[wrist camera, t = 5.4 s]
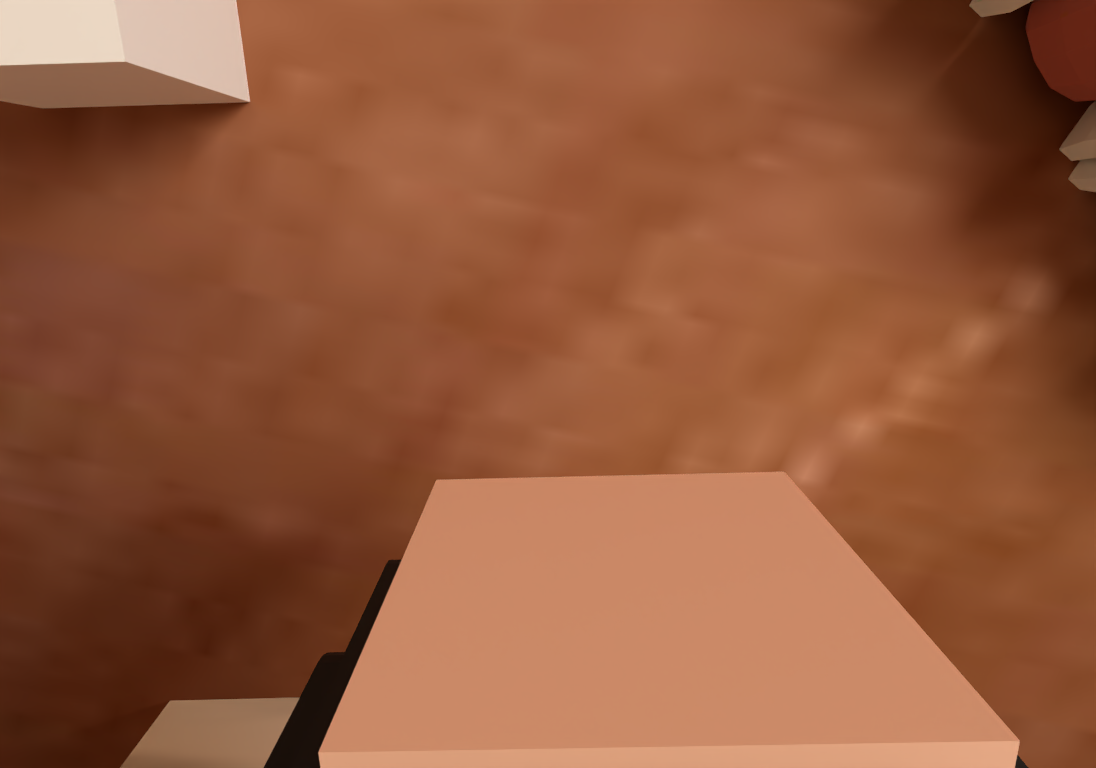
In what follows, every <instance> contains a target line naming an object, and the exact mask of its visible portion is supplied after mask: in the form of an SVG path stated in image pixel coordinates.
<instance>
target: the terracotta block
mask: <svg viewBox="0 0 1096 768" xmlns="http://www.w3.org/2000/svg"><path fill="white" fill-rule="evenodd" d="M1019 742H1020V741H1019V739H1018V738H1017V737H1016V736H1015V735H1014V734H1013V733H1012V731H1011V730H1010V729H1009V728H1008V727H1007V726H1006V725H1005V723H1004V722H1003V721H1002V720H1001V719H1000V718H999V717H998V715H997V714H996V713H995V712H994V711H993V710H992V709H991V707H990V706H989V705H988V704H987V703H986V702H985V701H984V699H983V698H982V697H981V696H980V695H979V694H978V693H977V691H976V690H975V689H974V688H973V687H972V686H971V685H970V683H969V682H968V681H967V680H966V679H965V678H964V677H963V675H962V674H961V673H960V672H959V671H958V670H957V669H956V667H955V666H954V665H953V664H952V663H951V662H950V661H949V659H948V658H947V657H946V656H945V655H944V654H943V653H942V651H941V650H940V649H939V648H938V647H937V646H936V645H935V643H934V642H933V641H932V640H931V639H930V638H929V637H928V635H927V634H926V633H925V632H924V631H923V630H922V629H921V627H920V626H919V625H918V624H917V623H916V622H915V621H914V619H913V618H912V617H911V616H910V615H909V614H908V612H907V611H906V610H905V609H904V608H903V607H902V606H901V604H900V603H899V602H898V601H897V600H896V599H895V598H894V596H893V595H892V594H891V593H890V592H889V591H888V590H887V588H886V587H885V586H884V585H883V584H882V583H881V582H880V580H879V579H878V578H877V577H876V576H875V575H874V574H873V572H872V571H871V570H870V569H869V568H868V567H867V566H866V564H865V563H864V562H863V561H862V560H861V559H860V558H859V556H858V555H857V554H856V553H855V552H854V551H853V550H852V548H851V547H850V546H849V545H848V544H847V543H846V542H845V540H844V539H843V538H842V537H841V536H840V535H839V534H838V532H837V531H836V530H835V529H834V528H833V527H832V526H831V524H830V523H829V522H828V521H827V520H826V519H825V518H824V516H823V515H822V514H821V513H820V512H819V511H818V510H817V508H816V507H815V506H814V505H813V504H812V503H811V502H810V500H809V499H808V498H807V497H806V496H805V495H804V494H803V492H802V491H801V490H800V489H799V488H798V487H797V486H796V484H795V483H794V482H793V481H792V480H791V479H790V478H789V476H788V475H787V474H786V473H785V472H752V473H709V474H666V475H623V476H579V477H536V478H493V479H450V480H436V482H435V484H434V487H433V489H432V491H431V494H430V496H429V498H428V501H427V503H426V505H425V507H424V510H423V512H422V514H421V517H420V519H419V521H418V524H417V526H416V528H415V531H414V533H413V535H412V537H411V540H410V542H409V544H408V547H407V549H406V551H405V554H404V556H403V558H402V561H401V563H400V565H399V567H398V570H397V572H396V574H395V577H394V579H393V581H392V584H391V586H390V588H389V591H388V593H387V595H386V597H385V600H384V602H383V604H382V607H381V609H380V611H379V614H378V616H377V618H376V621H375V623H374V625H373V627H372V630H371V632H370V634H369V637H368V639H367V641H366V644H365V646H364V648H363V651H362V653H361V655H360V657H359V660H358V662H357V664H356V667H355V669H354V671H353V674H352V676H351V678H350V681H349V683H348V685H347V687H346V690H345V692H344V694H343V697H342V699H341V701H340V704H339V706H338V708H337V711H336V713H335V715H334V717H333V720H332V722H331V724H330V727H329V729H328V731H327V734H326V736H325V738H324V740H323V743H322V745H321V747H320V750H319V752H318V754H319V761H320V768H1015V764H1016V759H1017V753H1018V748H1019Z"/></svg>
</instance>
